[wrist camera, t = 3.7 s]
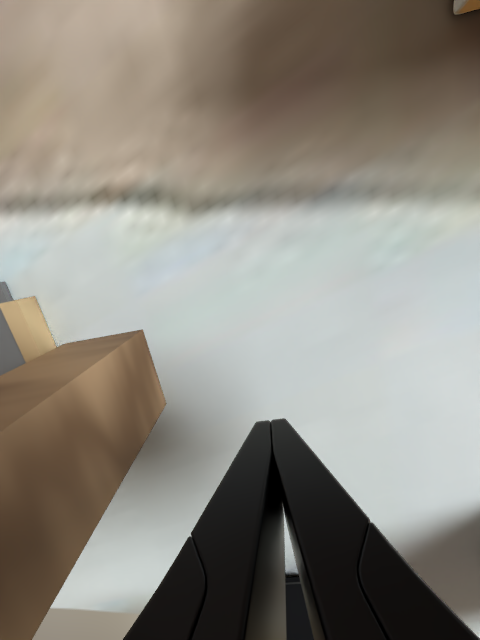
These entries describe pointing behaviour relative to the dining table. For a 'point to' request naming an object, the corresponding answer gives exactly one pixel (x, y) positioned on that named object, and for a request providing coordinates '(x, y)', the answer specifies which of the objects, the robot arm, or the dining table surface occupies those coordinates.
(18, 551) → the walnut block
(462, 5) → the small box
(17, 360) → the mat
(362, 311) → the dining table surface
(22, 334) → the kerb
